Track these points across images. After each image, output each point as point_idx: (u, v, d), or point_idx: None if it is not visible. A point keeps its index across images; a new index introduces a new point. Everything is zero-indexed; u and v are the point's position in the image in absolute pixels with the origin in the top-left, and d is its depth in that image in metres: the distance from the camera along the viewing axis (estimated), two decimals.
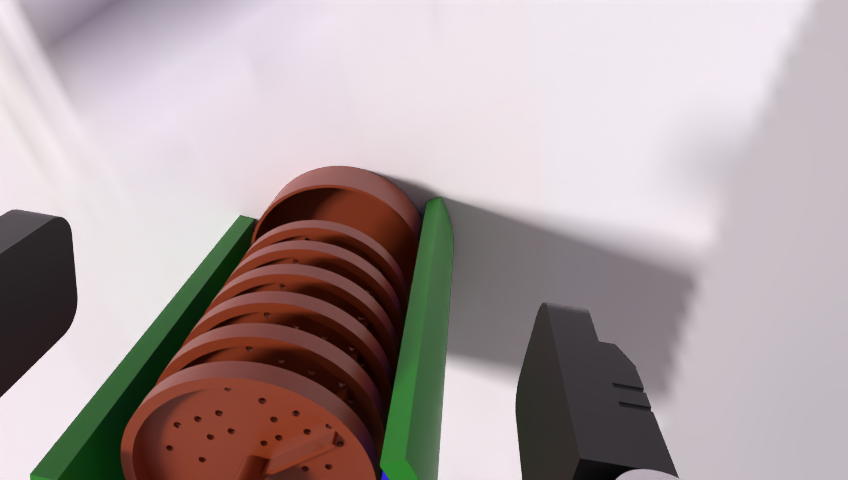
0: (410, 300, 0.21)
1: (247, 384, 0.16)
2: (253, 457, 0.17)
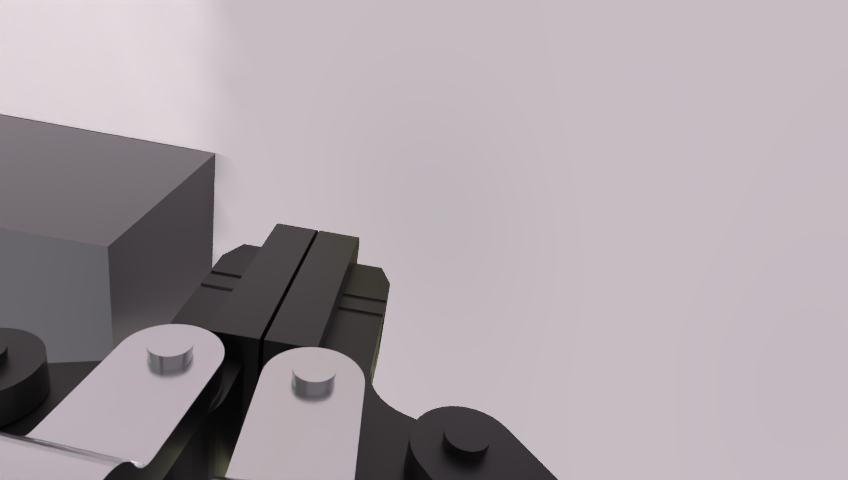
0: None
1: None
2: None
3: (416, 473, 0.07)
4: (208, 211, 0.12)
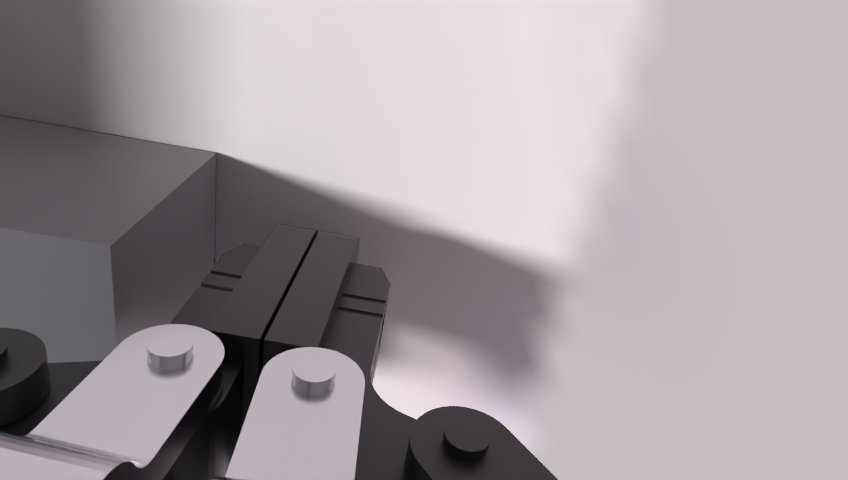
0: None
1: None
2: None
3: (416, 473, 0.07)
4: (210, 210, 0.12)
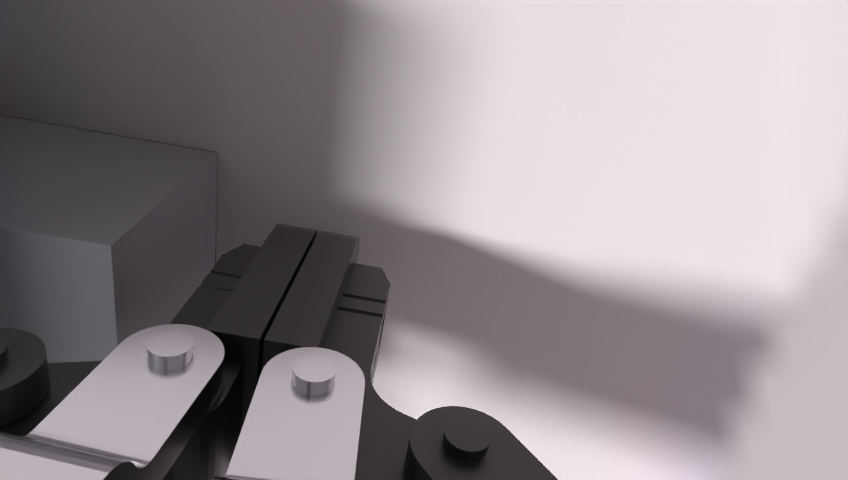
0: None
1: None
2: None
3: (416, 473, 0.07)
4: (211, 209, 0.12)
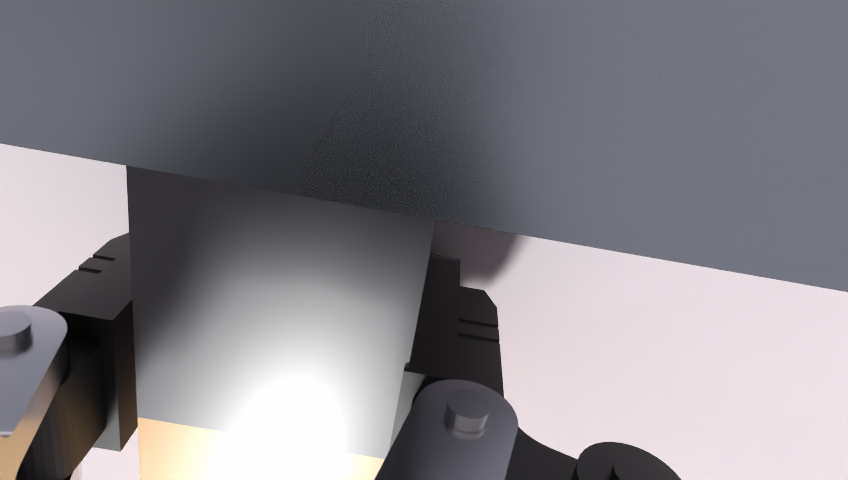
0: None
1: None
2: None
3: None
4: None
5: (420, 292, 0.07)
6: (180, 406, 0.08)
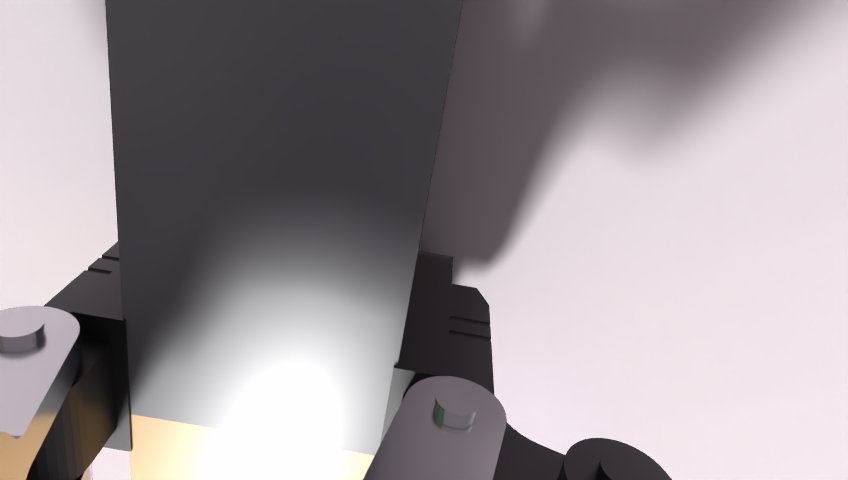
0: None
1: None
2: None
3: None
4: None
5: (409, 288, 0.07)
6: (170, 403, 0.08)
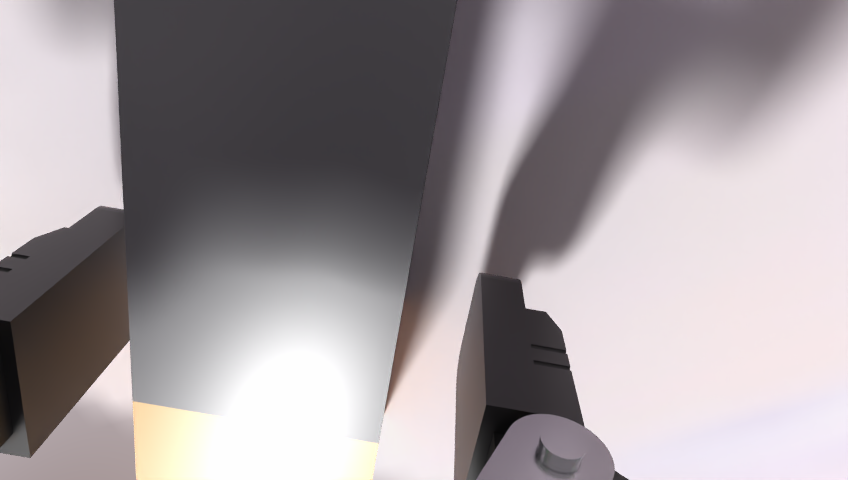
0: None
1: None
2: None
3: None
4: None
5: (405, 279, 0.08)
6: (174, 390, 0.09)
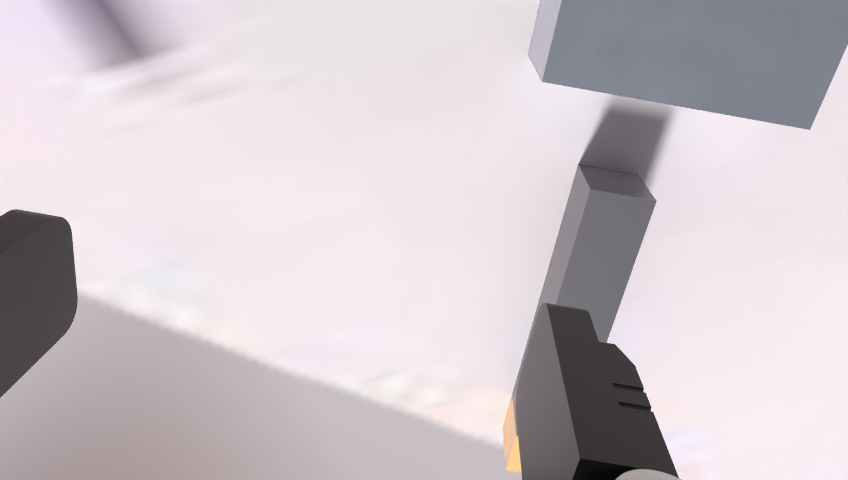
0: None
1: None
2: None
3: None
4: (597, 169, 0.36)
5: None
6: None
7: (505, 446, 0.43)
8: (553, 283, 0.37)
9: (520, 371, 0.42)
